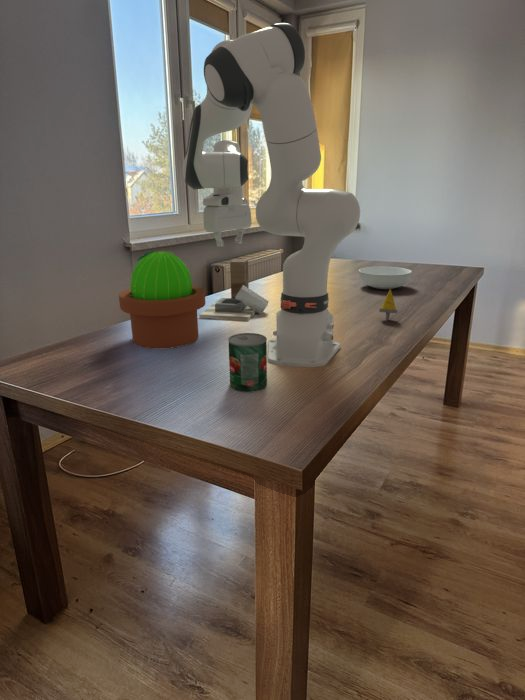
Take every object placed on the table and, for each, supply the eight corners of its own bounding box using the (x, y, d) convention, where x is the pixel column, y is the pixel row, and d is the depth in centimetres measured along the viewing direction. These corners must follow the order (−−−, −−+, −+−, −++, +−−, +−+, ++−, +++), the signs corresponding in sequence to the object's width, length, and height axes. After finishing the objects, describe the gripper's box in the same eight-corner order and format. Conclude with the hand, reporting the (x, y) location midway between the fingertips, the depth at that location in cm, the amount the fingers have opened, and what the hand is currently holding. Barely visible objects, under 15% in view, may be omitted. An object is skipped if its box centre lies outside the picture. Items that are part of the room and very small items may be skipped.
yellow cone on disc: (377, 321, 147) (380, 288, 145) (379, 320, 152) (382, 288, 150) (395, 322, 145) (398, 289, 144) (396, 321, 150) (400, 289, 149)
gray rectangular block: (234, 298, 156) (261, 314, 157) (241, 288, 154) (267, 305, 155) (236, 294, 159) (262, 310, 161) (243, 284, 158) (268, 301, 159)
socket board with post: (248, 321, 150) (247, 272, 144) (199, 319, 153) (196, 270, 148) (264, 303, 172) (264, 259, 167) (221, 301, 175) (219, 258, 170)
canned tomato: (274, 389, 101) (274, 339, 97) (243, 399, 97) (241, 347, 93) (253, 377, 107) (252, 330, 104) (222, 386, 103) (220, 337, 99)
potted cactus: (222, 339, 133) (218, 248, 125) (154, 360, 118) (145, 257, 110) (175, 324, 148) (169, 241, 139) (109, 341, 133) (98, 249, 125)
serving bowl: (407, 282, 204) (408, 266, 202) (413, 293, 185) (414, 275, 183) (357, 281, 208) (358, 265, 206) (357, 291, 188) (358, 274, 186)
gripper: (239, 197, 157) (240, 241, 162) (198, 199, 141) (201, 247, 146) (255, 198, 154) (256, 242, 159) (215, 200, 138) (217, 249, 142)
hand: (229, 244), depth 152 cm, fingers open, 8 cm apart
